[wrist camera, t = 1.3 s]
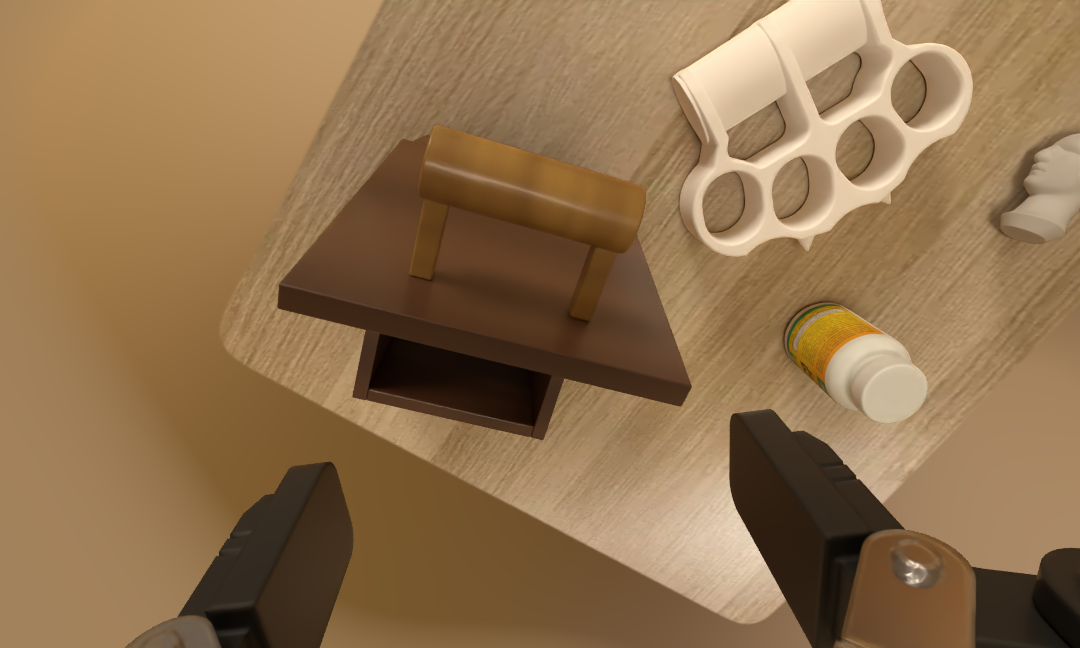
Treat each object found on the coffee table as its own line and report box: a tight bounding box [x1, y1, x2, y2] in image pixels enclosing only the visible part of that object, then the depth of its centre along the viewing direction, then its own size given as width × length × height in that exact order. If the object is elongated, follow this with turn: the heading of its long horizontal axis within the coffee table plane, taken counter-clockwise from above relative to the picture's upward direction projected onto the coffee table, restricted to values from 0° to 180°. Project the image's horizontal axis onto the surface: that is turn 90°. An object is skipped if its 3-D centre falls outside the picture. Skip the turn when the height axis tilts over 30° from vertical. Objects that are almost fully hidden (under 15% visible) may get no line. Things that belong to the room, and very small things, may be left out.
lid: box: [278, 125, 692, 406], centre depth 22 cm, size 16×12×5 cm
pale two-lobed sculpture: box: [1000, 133, 1080, 244], centre depth 38 cm, size 4×8×5 cm
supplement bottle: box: [785, 302, 928, 424], centre depth 39 cm, size 5×5×10 cm
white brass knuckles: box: [672, 0, 973, 257], centre depth 36 cm, size 3×18×15 cm
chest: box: [352, 135, 564, 440], centre depth 36 cm, size 15×12×9 cm
